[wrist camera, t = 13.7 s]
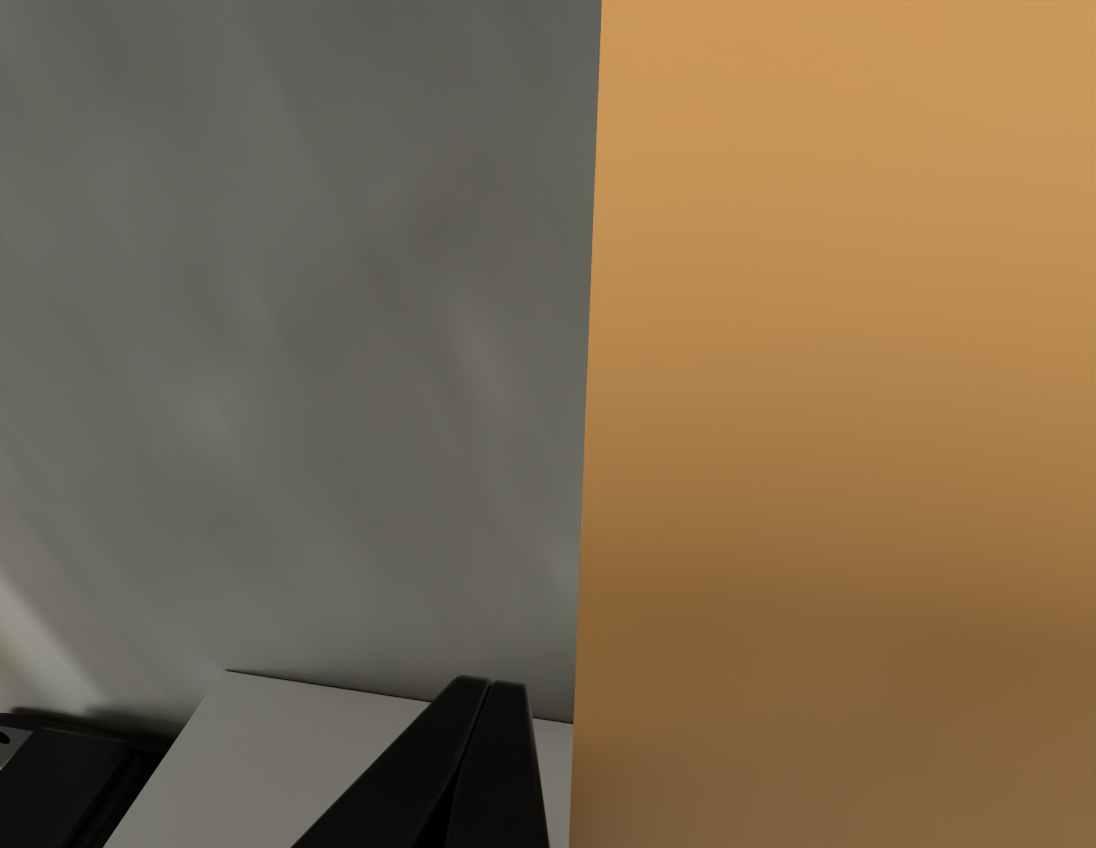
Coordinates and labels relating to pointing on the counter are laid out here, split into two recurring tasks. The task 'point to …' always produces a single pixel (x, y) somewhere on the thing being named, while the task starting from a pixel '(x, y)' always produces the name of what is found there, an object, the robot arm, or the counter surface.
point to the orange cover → (840, 428)
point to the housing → (290, 765)
